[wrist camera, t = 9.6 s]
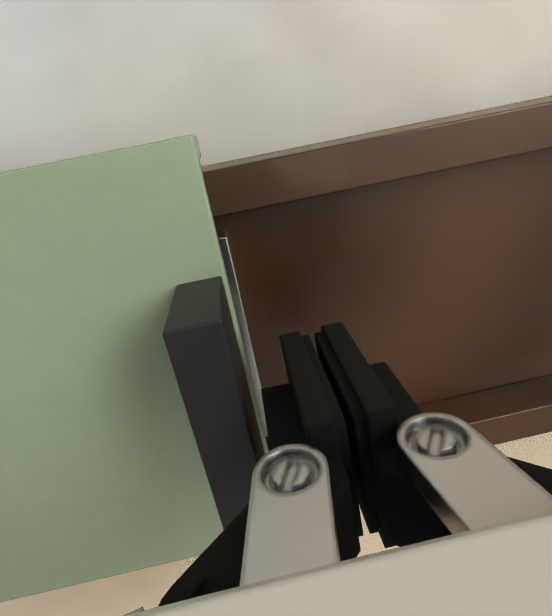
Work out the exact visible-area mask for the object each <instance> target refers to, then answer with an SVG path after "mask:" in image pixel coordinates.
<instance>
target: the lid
mask: <svg viewBox="0 0 552 616" xmlns="http://www.w3.org/2000/svg"><path fill="white" fill-rule="evenodd" d="M200 157H201V154H200V150H199V146H198V141H197V137H196V136H195V135H188V136H183V137H178V138H173V139H168V140H163V141H158V142H153V143H148V144H143V145H138V146H133V147H128V148H123V149H118V150H113V151H108V152H103V153H98V154H93V155H88V156H83V157H78V158H73V159H68V160H63V161H58V162H53V163H48V164H42V165H37V166H32V167H27V168H22V169H17V170H12V171H7V172H2V173H0V602H4V601H8V600H12V599H17V598H21V597H25V596H29V595H33V594H38V593H42V592H46V591H50V590H55V589H59V588H63V587H67V586H72V585H76V584H80V583H84V582H89V581H93V580H97V579H101V578H105V577H110V576H114V575H118V574H122V573H127V572H131V571H135V570H139V569H144V568H148V567H152V566H156V565H161V564H165V563H169V562H173V561H177V560H182V559H186V558H190V557H194V556H199V555H201V554H202V553H203V552H204V551H205V550H206V549H207V548H208V546H209V545H210V544H211V543H212V542H213V541H214V540H215V539H216V538H217V537H218V536H219V535H220V534H221V532H222V531H223V530H224V529H225V528H226V527H227V526H228V525H229V524H230V523H231V522H232V521H233V520H234V518H235V517H236V516H237V515H238V514H239V513H240V512H241V511H242V510H243V509H244V508H245V507H246V506H247V504H248V503H249V499H250V490H251V482H252V474H253V470H254V467H255V465H256V464H257V462H258V461H259V460H260V458H261V457H262V456H264V455H265V454H266V453H267V452H269V450H268V446H267V442H266V437H265V433H264V429H263V425H262V421H261V416H260V412H259V408H258V404H257V400H256V396H255V391H254V387H253V383H252V379H251V375H250V370H249V366H248V362H247V358H246V354H245V349H244V345H243V341H242V337H241V333H240V328H239V324H238V320H237V316H236V312H235V307H234V303H233V299H232V295H231V291H230V286H229V282H228V278H227V274H226V270H225V265H224V261H223V257H222V253H221V249H220V245H219V240H218V236H217V232H216V228H215V224H214V219H213V215H212V211H211V207H210V203H209V198H208V194H207V190H206V186H205V182H204V177H203V173H202V169H201V165H200V161H199V159H200Z"/></svg>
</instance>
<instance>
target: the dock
mask: <svg viewBox="0 0 552 616" xmlns="http://www.w3.org/2000/svg"><path fill="white" fill-rule="evenodd" d="M201 169H202V173H203V177H204V182H205V186H206V190H207V194H208V198H209V203H210V207H211V211H212V215H213V219H214V224H215V228H216V232H217V233H218V232H223V231H226V232H227V234H228V238H229V243H230V247H231V251H232V256H233V260H234V264H235V269H236V273H237V277H238V282H239V286H240V291H241V295H242V299H243V304H244V308H245V312H246V317H247V321H248V325H249V330H250V334H251V339H252V343H253V347H254V352H255V356H256V360H257V365H258V369H259V373H260V378H261V382H262V387H263V389H264V388H268V387H273V386H277V385H282V384H286V383H289V381H288V377H287V372H286V367H285V362H284V357H283V352H282V347H281V343H280V337H279V335H283V334H288V333H292V332H297V331H300V334H301V336H304V335H309V337H310V339H311V341H312V343H313V346H314V348H315V350H316V353H317V349H316V343H315V337H314V333H317V332H321V326H324V325H328V324H333V323H337V322H342V323H343V324H344V326H345V328H346V329H347V331H348V332H349V334H350V335H351V337H352V339H353V340H354V342H355V343H356V345H357V346H358V348H359V349H360V351H361V353H362V354H363V356H364V357H365V359H366V360H367V362H368V364H369V365H371V364H375V363H379V362H385V363H386V364H387V365H388V366H389V367H390V369H391V370H392V372H393V373H394V374H395V376H396V377H397V378H398V380H399V381H400V383H401V384H402V385H403V387H404V388H405V390H406V391H407V392H408V394H409V395H410V397H411V398H412V399H413V401H414V402H415V403H416V405H417V406H418V408H419V409H420V410H421V412H422V413H433V412H438V413H445V414H450V415H453V416H455V417H458V418H461V419H462V420H464V421H465V422H467V423H468V424H470V425H471V426H472V427H473V428H474V429H475V430H477V431H478V432H479V433H480V434H481V435H482V436H484V437H485V438H486V439H487V440H488V441H489V442H490V443H492V444H493V445H495V444H500V443H504V442H508V441H513V440H517V439H521V438H525V437H530V436H534V435H538V434H543V433H547V432H551V431H552V96H548V97H543V98H538V99H533V100H528V101H523V102H518V103H514V104H509V105H504V106H499V107H494V108H489V109H484V110H479V111H474V112H469V113H464V114H459V115H454V116H449V117H444V118H439V119H434V120H430V121H425V122H420V123H415V124H410V125H405V126H400V127H395V128H390V129H385V130H380V131H375V132H370V133H365V134H360V135H355V136H350V137H346V138H341V139H336V140H331V141H326V142H321V143H316V144H311V145H306V146H301V147H296V148H291V149H286V150H281V151H276V152H271V153H266V154H262V155H257V156H252V157H247V158H242V159H237V160H232V161H227V162H222V163H217V164H212V165H207V166H202V167H201ZM266 442H267V446H268V450H269V451H270V446H269V440H268V436H267V437H266Z"/></svg>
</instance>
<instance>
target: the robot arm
mask: <svg viewBox="0 0 552 616" xmlns="http://www.w3.org/2000/svg"><path fill="white" fill-rule="evenodd" d="M279 337H280V343H281V347H282V352H283V357H284V362H285V367H286V372H287V377H288V381H289V383H286V384H282V385H277V386H273V387H268V388H264V389H261V394H262V400H263V407H264V414H265V420H266V427H267V433H268V440H269V446H270V451H269V452H267V453H266V454H265V455H264V456H262V457H261V458H260V460H259V461H258V462H257V464H256V465H255V467H254V470H253V474H252V482H251V490H250V499H249V503H248V504H247V506H246V507H245V508H244V509H243V510H242V511H241V512H240V513H239V514H238V515H237V516H236V517H235V518H234V520H233V521H232V522H231V523H230V524H229V525H228V526H227V527H226V528H225V529H224V530H223V531H222V532H221V534H220V535H219V536H218V537H217V538H216V539H215V540H214V541H213V542H212V543H211V544H210V545H209V546H208V548H207V549H206V550H205V551H204V552H203V553H202V554H201V555H200V556H199V557H198V558H197V559H196V560H195V562H194V563H193V564H192V565H191V566H190V567H189V568H188V569H187V570H186V571H185V572H184V573H183V574H182V576H181V577H180V578H179V579H178V580H177V581H176V582H175V583H174V584H173V585H172V586H171V587H170V589H169V590H168V592H167V593H166V594H165V596H164V597H163V598H162V600H161V602H160V604H159V607H156V608H152V609H148V610H145V611H144V608H143V607H141V608H139V609H136V610H134V611H132V612H130V613H128V614H126V615H124V616H552V469H548V468H545V467H541V466H538V465H534V464H531V463H527V462H524V461H520V460H517V459H513V458H510V457H507V456H506V455H504V454H503V453H502V452H501V451H500V450H499V449H497V448H496V447H495V446H494V445H493V444H492V443H490V442H489V441H488V440H487V439H486V438H485V437H484V436H482V435H481V434H480V433H479V432H478V431H477V430H475V429H474V428H473V427H472V426H471V425H470V424H468V423H467V422H465V421H464V420H462V419H461V418H458V417H455V416H453V415H450V414H445V413H438V412H433V413H422V412H421V410H420V409H419V408H418V406H417V405H416V403H415V402H414V401H413V399H412V398H411V397H410V395H409V394H408V392H407V391H406V390H405V388H404V387H403V385H402V384H401V383H400V381H399V380H398V378H397V377H396V376H395V374H394V373H393V372H392V370H391V369H390V367H389V366H388V365H387V364H386V363H385V362H379V363H375V364H371V365H369V364H368V362H367V360H366V359H365V357H364V356H363V354H362V353H361V351H360V349H359V348H358V346H357V345H356V343H355V342H354V340H353V339H352V337H351V335H350V334H349V332H348V331H347V329H346V328H345V326H344V324H343V323H342V322H337V323H333V324H328V325H324V326H321V332H317V333H314V337H315V343H316V349H317V353H316V350H315V348H314V346H313V343H312V341H311V339H310V337H309V335H304V336H301V334H300V331H297V332H292V333H288V334H283V335H279ZM358 503H359V504H358ZM359 506H360V508H361V511H362V514H363V517H364V519H365V522H366V525H367V527H368V530H369V532H370V533H376V532H379V534H380V537H381V539H382V542H383V544H384V547H385V548H388V547H392V546H396V545H397V546H399V547H398V548H394V549H390V550H386V551H382V552H378V553H373V554H369V555H365V556H361V557H357V555H358V554H359V552H360V551H361V550H360V543H359V536H363V529H362V523H361V516H360V510H359ZM356 557H357V558H356Z"/></svg>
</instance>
